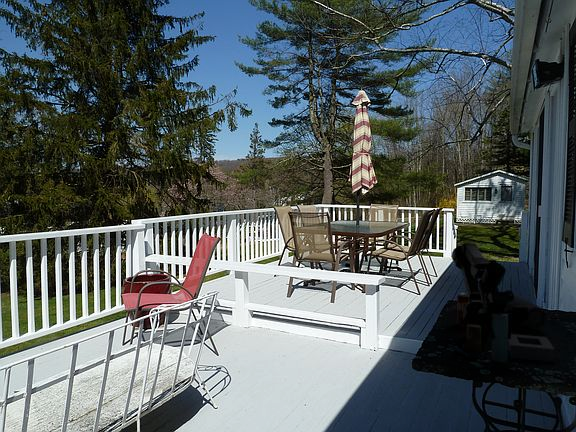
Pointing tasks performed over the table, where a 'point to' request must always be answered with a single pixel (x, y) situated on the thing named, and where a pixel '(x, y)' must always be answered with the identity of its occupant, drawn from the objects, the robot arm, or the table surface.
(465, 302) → the soda can
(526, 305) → the dark curved piece
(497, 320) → the long peg
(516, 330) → the table surface
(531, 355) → the socket block
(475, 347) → the short peg
